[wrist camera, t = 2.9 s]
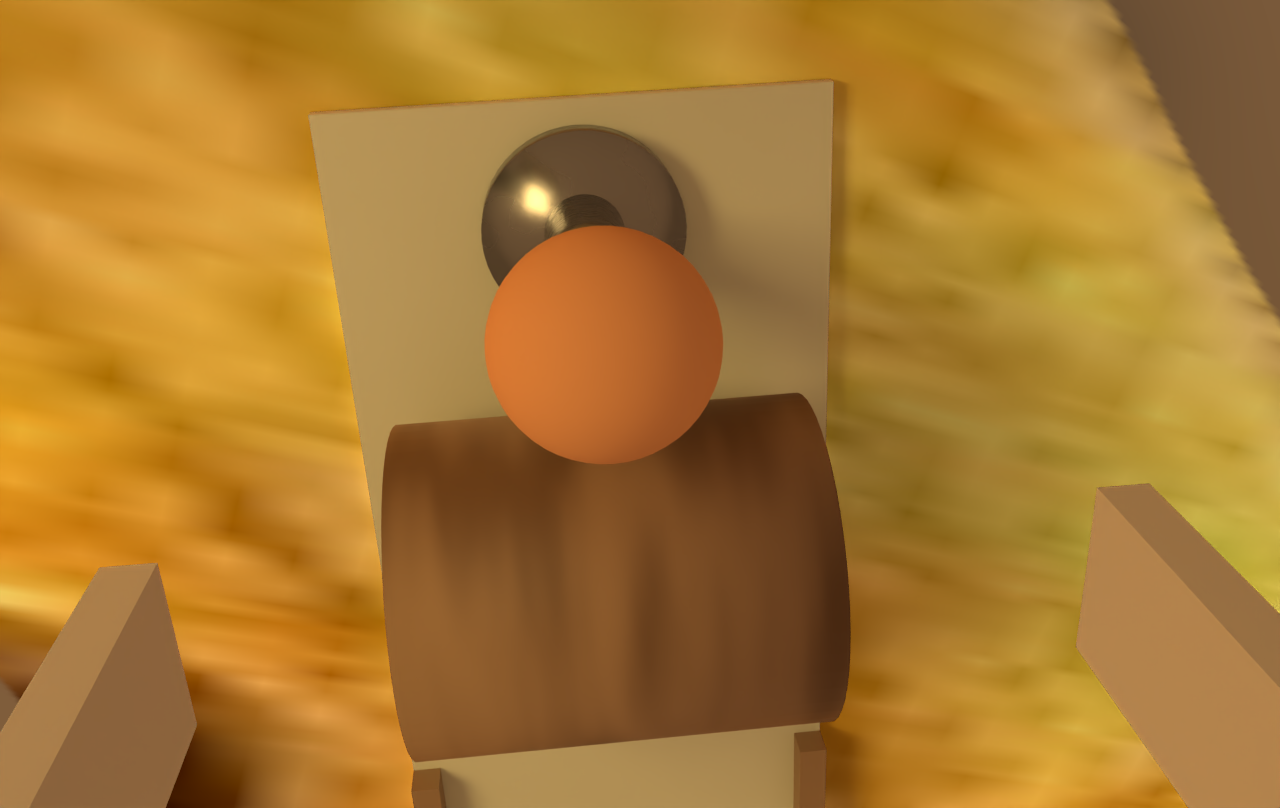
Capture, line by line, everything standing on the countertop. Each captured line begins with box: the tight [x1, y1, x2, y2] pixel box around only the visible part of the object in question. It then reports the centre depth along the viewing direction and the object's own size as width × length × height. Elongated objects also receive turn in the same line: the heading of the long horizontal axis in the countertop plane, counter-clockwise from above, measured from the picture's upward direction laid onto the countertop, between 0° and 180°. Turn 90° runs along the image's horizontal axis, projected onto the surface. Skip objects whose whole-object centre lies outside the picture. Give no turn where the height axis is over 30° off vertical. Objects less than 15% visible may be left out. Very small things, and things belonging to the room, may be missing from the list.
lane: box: [308, 79, 834, 808], centre depth 37 cm, size 14×35×5 cm, turn 3°
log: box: [381, 393, 850, 762], centre depth 33 cm, size 11×9×9 cm
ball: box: [484, 226, 723, 464], centre depth 25 cm, size 5×5×5 cm
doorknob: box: [481, 125, 687, 287], centre depth 30 cm, size 6×6×6 cm
